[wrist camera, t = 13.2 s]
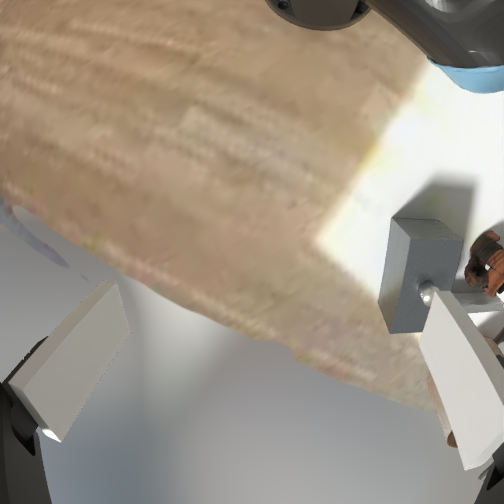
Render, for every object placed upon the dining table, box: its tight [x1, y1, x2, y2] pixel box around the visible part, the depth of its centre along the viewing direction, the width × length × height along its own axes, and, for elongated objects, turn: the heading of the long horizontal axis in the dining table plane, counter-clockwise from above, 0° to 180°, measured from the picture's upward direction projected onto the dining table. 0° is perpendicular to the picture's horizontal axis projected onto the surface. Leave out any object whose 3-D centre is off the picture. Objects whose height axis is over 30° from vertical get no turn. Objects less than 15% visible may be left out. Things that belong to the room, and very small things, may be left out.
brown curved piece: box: [464, 231, 504, 298], centre depth 38 cm, size 12×10×8 cm
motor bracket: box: [378, 218, 504, 334], centre depth 37 cm, size 14×24×10 cm, turn 92°
